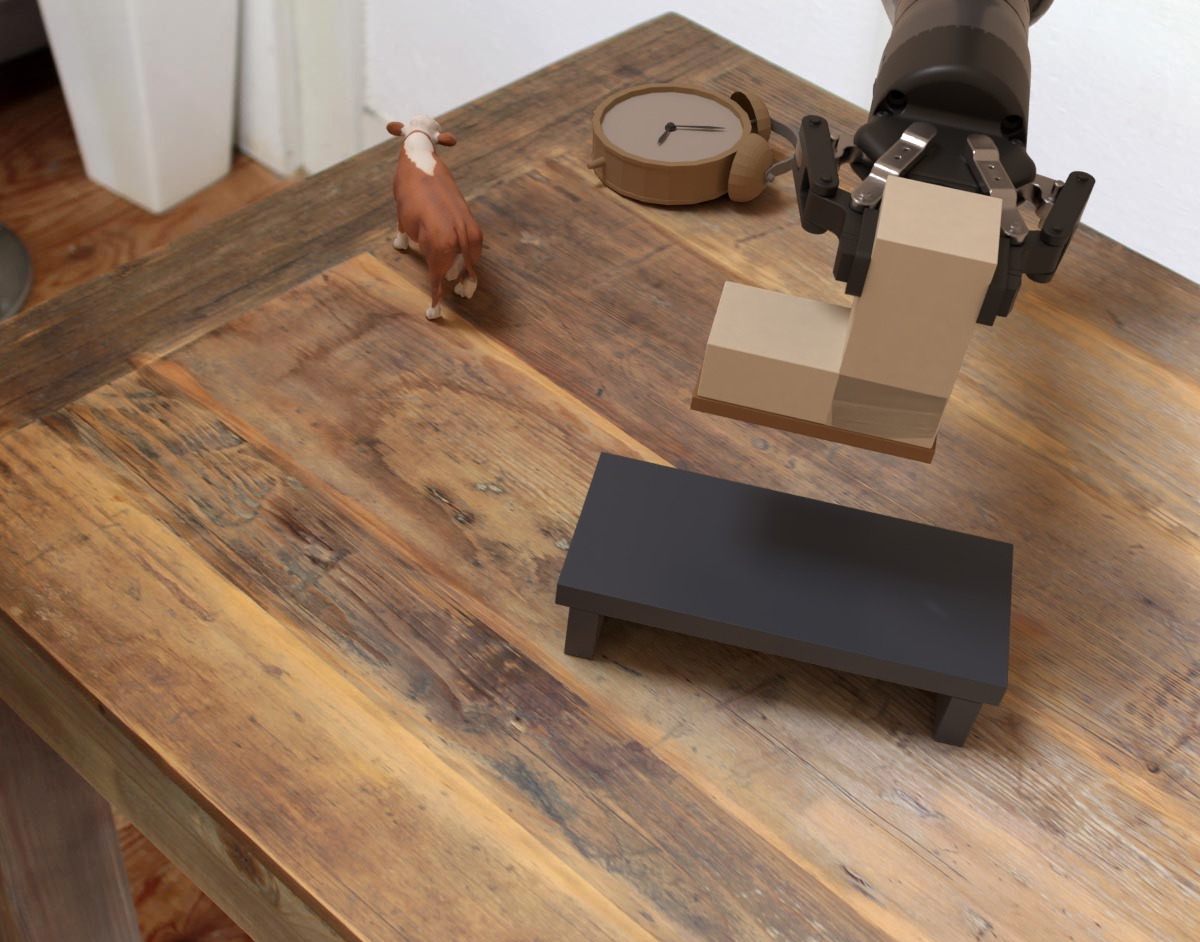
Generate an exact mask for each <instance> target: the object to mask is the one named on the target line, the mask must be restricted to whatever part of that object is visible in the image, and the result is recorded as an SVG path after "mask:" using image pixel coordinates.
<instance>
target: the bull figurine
mask: <svg viewBox="0 0 1200 942" xmlns="http://www.w3.org/2000/svg"><path fill="white" fill-rule="evenodd" d="M385 129H386V131H387V133H389V135H391V136H395V137H404V138H405V139H404V140H403V143H402V145H401V146H400V150H399V154H398V155H399V156H398V160H397V162H398V163H397V166H396V170H395V174H394V176H393V180H392V181H393V182H392V194H393V197H394V200H395V202H396V217H397V224H396V228H397V231H398V233H397V236H396V238H395V239H393V242H392V247H393V248H394V249H395V250H401V249H403V250H407V249H408V247H409V239H410V240H411V241H412V242H414V243H415V244H416V245H417V246H419V249H420V251H421V253H422V255H423V256H424V258H425V261H426V263H427V266H428V269H429V281H430V286H431V289H430V296H431V304H430V306H429V307H428V308H427V310H426V311H425V312H424V316H425V318H427V320H436V319H438V318H440V317H441V315H442V307H441V299H442V297H443V295H444V294H445V279H446V281H448V282H449V281H450V282H451V281H453V280H457V279H458V277H459V282H457V284H456V285H455V287H454V289H453V292H454V293H455V294H456V295H458V296H460V297H461V298H465V297H466V298H467V299H471V298H472V297H473V296H474V293H475V291H476V290H477V286H478V278H477V275H476V273H475V271H474V269H473V266H475V265H476V264H477V263H478V260H479V259H480V256H481V254H482V252H483V251H482V250H483V243H484V234H483V231H482V229H481V227H480V226H479V224H478V223H477V221H476V220H475V218H474V215H473V212H472V210H471V207H470V205H469V204H468V203H467V200H466V199H465V197H464V195H463V193H462V191H461V189H460V188H459V186H458V184H457V182H456V180H455V178H454V176H453V174H452V172H451V170H450V168H449V167H448V165H446V163H445V162H444V161H443V160H442V159H441V158H440V157H438V155H437V154H438V153H439V151H440V146H443V147H454V146H456V145H457V142H458V140H457V138H456V136H455V135H454V134H452V133H451V132H442V126H441V125H440V123H438V121H436V120H435V119H434V118H433V117H431V116H429V115H427V114H417V115H415V116H413V117H412V118H410V121H409V123H408V124H407V125H406V124H404V123H403V122H401V121H390V122H388V123H387V124H386V126H385Z"/></svg>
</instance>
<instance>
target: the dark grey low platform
mask: <svg viewBox="0 0 1200 942" xmlns="http://www.w3.org/2000/svg"><path fill="white" fill-rule="evenodd" d="M1013 566H1014V543H1011V542H1007V541H1002V540H997V539H994V538H990V537H989V538H988V537H984V536H980V535H975V534H971V533H967V532H962V531H958V530H953V529H948V528H945V527H940V526H936V525H930V524H927V523H921V522H918V521H913V520H908V519H904V518H900V517H895V516H891V515H886V514H883V513H878V512H873V511H869V510H864V509H859V508H855V507H850V506H846V505H843V504H842V505H841V504H837V503H833V502H829V501H824V500H819V499H815V498H811V497H806V496H802V495H797V494H793V493H790V492H789V493H787V492H785V491H784V492H783V491H780V490H776V489H771V488H766V487H761V486H757V485H752V484H748V483H743V482H739V481H735V480H731V479H726V478H722V477H717V476H713V475H708V474H705V473H700V472H695V471H691V470H687V469H681V468H677V467H674V466H673V467H672V466H669V465H668V466H667V465H665V464H659V463H655V462H650V461H646V460H642V459H637V458H632V457H628V456H623V455H619V454H616V453H615V454H614V453H610V452H605V451H601V452H600V454H599V457H598V460H597V463H596V466H595V469H594V471H593V475H592V478H591V480H590V484H589V487H588V490H587V492H586V495H585V498H584V502H583V505H582V508H581V511H580V513H579V517H578V520H577V523H576V525H575V529H574V532H573V535H572V539H571V541H570V544H569V547H568V549H567V552H566V556H565V559H564V561H563V565H562V568H561V570H560V574H559V576H558V579H557V582H556V590H555V596H554V597H555V598H554V604H555V605H559V606H563V607H566V608H569V609H568V616H567V623H566V631H565V640H564V648H563V654H566V655H570V656H573V657H578V658H583V659H586V660H593V659H594V655H595V652H596V649H597V645H598V642H599V638H600V635H601V632H602V628H603V625H604V621H605V618H606V617H609V618H613V619H618V620H623V621H627V622H631V623H636V624H640V625H644V626H649V627H653V628H657V629H661V630H666V631H669V632H674V633H678V634H683V635H687V636H691V637H696V638H700V639H704V640H709V641H712V642H717V643H721V644H726V645H730V646H734V647H738V648H742V649H747V650H752V651H755V652H760V653H764V654H768V655H772V656H778V657H781V658H786V659H790V660H794V661H799V662H803V663H806V664H811V665H816V666H820V667H824V668H829V669H833V670H838V671H842V672H846V673H850V674H855V675H858V676H863V677H867V678H872V679H876V680H880V681H883V682H889V683H893V684H896V685H902V686H906V687H910V688H915V689H918V690H924V691H928V692H932V693H936V704H935V714H934V725H933V727H934V728H933V736H932V737H933V739H932V740H933V741H935V742H940V743H945V744H948V745H953V746H957V747H961V748H962V747H964V745H965V743H966V741H967V738H968V736H969V734H970V732H971V730H972V728H973V726H974V723H975V721H976V720H977V717H978V714H979V713H980V711H981V708H982V707H983V704H984V705H988V706H992V707H995V708H998V707H1000V705H1001V702H1002V701H1003V698H1004V696H1005V694H1006V693H1007V690H1008V688H1009V687H1008V686H1009V664H1010V663H1009V662H1010V642H1011V641H1010V640H1011V638H1010V637H1011V620H1012V619H1011V618H1012V617H1011V616H1012V615H1011V614H1012V594H1013V592H1012V590H1013V572H1014V571H1013V568H1014V567H1013Z"/></svg>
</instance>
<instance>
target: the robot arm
mask: <svg viewBox="0 0 1200 942" xmlns="http://www.w3.org/2000/svg"><path fill="white" fill-rule="evenodd" d="M880 1H881V4H882V6H883V9H884V12H885V14H886V16H887V18H888V20H889V22H890V24H891V27H892V28H891V32H890V36H889V38H888V40H887V42H886V45H885V47H884V49H883V51H882V55H881V58H880V61H879V65H878V68H877V69H878V70H877V74H876V75H877V76H876V77H875V78H874V83H873V85H872V99H871V104H870V109H869V112H868V118H867V122H866V123H864V124H862V125H861V126H860V127H858V129H857V130H856V131H855V133H854V134H846V133H837V132H830V127H829V123H828V121H827V119H826V118H824V117H822V116H820V115H815V114H807V115H804V116H803V117H801V121H800V127H799V132H798V134H799V136H798V140H797V145H796V149H795V148H794V153H795V154H794V153H793V154H794V158H793V163H792V170H791V171H792V176H793V182H794V188H795V195H796V201H797V207H798V213H799V219H800V225H801V228H802V229H803V230H804V231H805V232H807V233H809V234H813V235H824V234H825V233H827V232H830V233H832V234H833V235H835V236H836V237H837V239H838V245H837V249H836V254H835V260H834V264H833V269H832V275H833V278H834V280H835V281H837V282H842V283H846V285H845V289H844V295H847V296H852V297H854V296H856V297H861V294H862V291H863V287H864V284H865V280H866V277H867V273H868V269H869V266H870V262H871V255H872V250H873V245H874V239H875V234H876V229H877V223H878V218H879V212H880V211H879V210H878V209H879V206H880V204H881V200H882V197H883V191H884V188H885V184H886V180H887V177H888V175H891V176H896V177H901V178H906V179H910V180H915V181H920V182H924V183H929V184H934V185H938V186H943V187H948V188H952V189H957V190H962V191H967V192H971V193H976V194H981V195H985V196H990V197H995V198H999V199H1002V200H1003V201H1002V213H1001V226H1000V238H999V250H998V262H997V267H996V270H995V272H994V275H993V278H992V281H991V283H990V284H989V287H988V290H987V293H986V296H985V298H984V301H983V304H982V307H981V310H980V312H979V315H978V318H977V321H976V324H978V325H983V326H986V327H987V326H988V327H993V325H994V324H995V321H996V318H997V317H1001V318H1007V317H1008V316H1009V315H1010V314H1011V313H1012V311H1013V308H1014V305H1015V303H1016V301H1017V297H1018V295H1019V292H1020V289H1021V287H1022V277H1023V275H1024V274H1025V276H1026V278H1028V280H1030V281H1032V282H1034V283H1038V284H1049V283H1050V282H1052V280H1053V279H1054V277H1055V274H1056V272H1057V271H1058V268H1059V267H1060V264H1061V262H1062V261H1063V258H1064V256H1065V254H1066V252H1067V250H1068V249H1069V246H1070V244H1071V242H1072V240H1073V238H1074V236H1075V233H1077V232H1076V231H1077V229H1078V227H1079V225H1080V223H1081V220H1082V217H1083V215H1084V213H1085V210H1086V208H1087V204H1088V202H1089V200H1090V197H1091V195H1092V192H1093V189H1094V187H1095V184H1096V181H1097V180H1096V179H1095V177H1094V176H1093V175H1092V174H1090V173H1088V172H1085V171H1081V170H1074V171H1071V172H1070V173H1069V174H1068V176H1067V178H1066V180H1065V182H1064V181H1063V180H1061V179H1054V178H1052V177H1051V178H1050V177H1048V176H1045V175H1042V174H1039V173H1037V166H1036V164H1035V161H1034V160H1033V158H1031V156H1030V154H1029V153H1028V151H1027V148H1028V133H1029V120H1030V119H1029V116H1030V101H1031V100H1030V99H1031V84H1032V60H1031V59H1032V58H1031V53H1030V48H1029V35H1030V34H1029V33H1030V28H1031V27H1032V26H1034V25H1035V24H1036V23H1038V21H1039V20H1041V18H1043V17H1044V16H1045V15H1046V13H1047V12H1048V11H1049V10H1050V8H1051V7H1052V5H1053V4H1054V2H1055V0H880ZM845 164H849V166H850V169H851V171H852V172H854V173H855V175H856V176H857V177H858V179H860V180H861V182H860V183H859V184H858V185H857V186H856V187H855V188H854V189H853V190H852V191H851V192H850V191H848V190H845V189H843V188H841V187H839V186H840V176H839V172H840V170H841V166H842V165H845ZM1026 201H1027V202H1029V203H1031V204H1032V206H1034V208H1035V210H1034V213H1035V215H1036V216H1037V217H1038V218H1039V221H1038V224H1037V228H1038V229H1036V230H1035V229H1034V230H1033V229H1029V227H1028V225H1027V224H1026V222H1025V220H1024V218H1023V216H1022V214H1021V213H1020V211H1019V209H1018V207H1020V206H1022V205H1023V204H1024V203H1025V202H1026Z"/></svg>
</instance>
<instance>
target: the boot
mask: <svg viewBox="0 0 1200 942" xmlns="http://www.w3.org/2000/svg"><path fill="white" fill-rule="evenodd" d="M1002 201H1003V200H1002V199H999V198H995V197H990V196H985V195H981V194H976V193H971V192H967V191H962V190H957V189H952V188H948V187H943V186H938V185H934V184H929V183H924V182H920V181H915V180H910V179H906V178H901V177H896V176H891V175H888V177H887V180H886V184H885V188H884V191H883V197H882V200H881V204H880V206H879V209H878V210H879V211H880V212H879V218H878V223H877V229H876V234H875V239H874V245H873V250H872V255H871V262H870V266H869V269H868V273H867V277H866V280H865V284H864V287H863V291H862V294H861V297H856V296H853V300H852V303H851V307H848V306H843V305H838V304H834V303H830V302H829V303H828V302H825V301H820V300H815V299H811V298H806V297H803V296H798V295H793V294H789V293H784V292H780V291H775V290H770V289H765V288H761V287H757V286H754V285H753V286H752V285H747V284H745V283H744V284H743V283H739V282H734V281H730V280H726V281H724V285H723V288H722V292H721V295H720V299H719V303H718V306H717V309H716V311H715V315H714V318H713V322H712V326H711V329H710V332H709V336H708V340H707V343H706V348H705V352H704V356H703V359H702V363H701V366H700V370H699V373H698V376H697V380H696V383H695V386H694V390H693V394H692V397H691V401H690V407H689V409H690V410H691V411H695V412H700V413H704V414H708V415H712V416H713V415H714V416H717V417H722V418H726V419H730V420H731V419H732V420H736V421H739V422H743V423H744V422H745V423H747V424H751V425H752V424H753V425H757V426H761V427H764V428H765V427H766V428H769V429H775V430H779V431H784V432H788V433H792V434H795V435H796V434H797V435H801V436H804V437H808V438H809V437H810V438H814V439H819V440H823V441H827V442H832V443H836V444H841V445H845V446H848V447H849V446H850V447H854V448H858V449H863V450H867V451H871V452H876V453H880V454H884V455H888V456H894V457H897V458H902V459H907V460H910V461H916V462H919V463H924V464H927V465H931V464H932V462H933V459H934V458H935V457H934V456H935V455H936V449H937V439H938V432H939V429H940V425H941V423H942V420H943V417H944V415H945V412H946V409H947V406H948V403H949V400H950V398H951V395H952V393H953V389H954V386H955V384H956V382H957V378H958V376H959V372H960V370H961V367H962V364H963V362H964V358H965V356H966V353H967V350H968V347H969V345H970V342H971V339H972V336H973V333H974V331H975V328H976V325H977V323H976V321H977V318H978V315H979V312H980V310H981V307H982V304H983V301H984V298H985V296H986V293H987V290H988V287H989V284H990V283H991V281H992V278H993V275H994V272H995V270H996V267H997V262H998V250H999V238H1000V226H1001V213H1002Z"/></svg>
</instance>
